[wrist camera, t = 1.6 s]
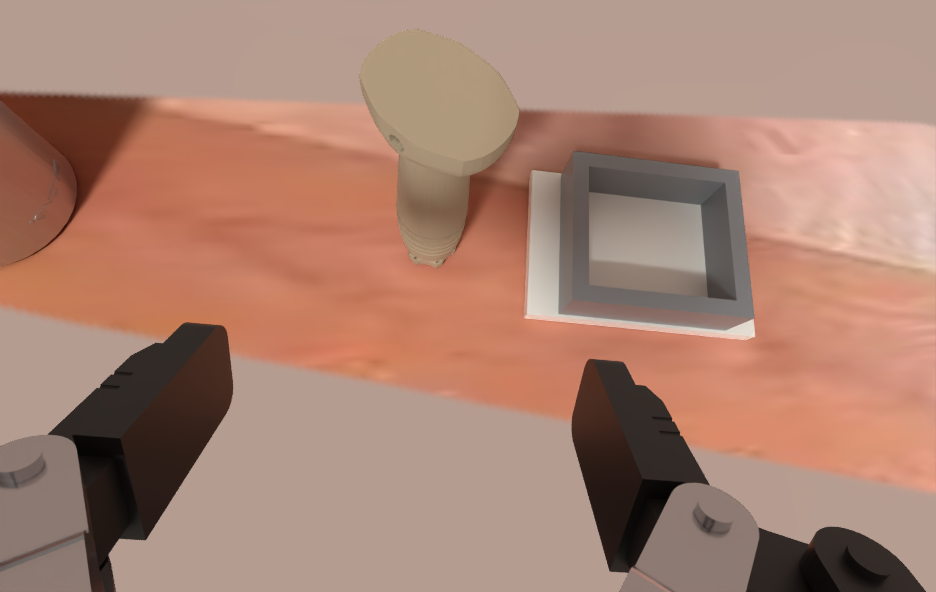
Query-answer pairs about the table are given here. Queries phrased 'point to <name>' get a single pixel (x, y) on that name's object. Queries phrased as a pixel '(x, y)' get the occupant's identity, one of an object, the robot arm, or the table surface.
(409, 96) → the handle
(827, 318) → the table surface
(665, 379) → the table surface
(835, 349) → the table surface
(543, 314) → the holder
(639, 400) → the robot arm
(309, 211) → the table surface
